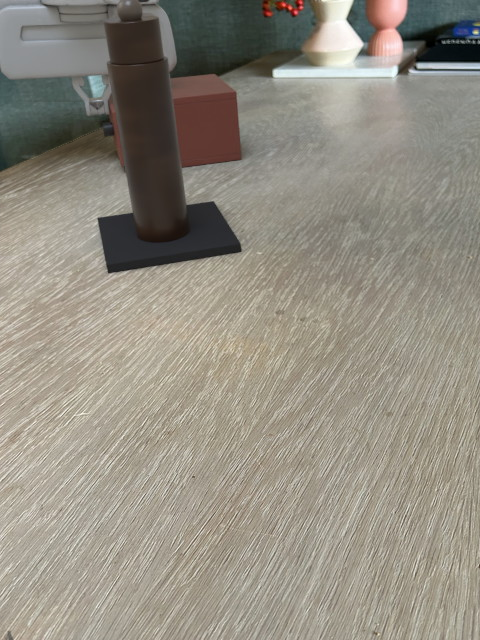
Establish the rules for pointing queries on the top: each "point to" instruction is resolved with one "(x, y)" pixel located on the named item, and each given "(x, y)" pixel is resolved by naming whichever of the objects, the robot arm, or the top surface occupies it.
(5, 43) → the robot arm
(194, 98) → the cabinet
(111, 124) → the drawer
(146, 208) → the pepper mill
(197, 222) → the plate
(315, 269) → the top surface
